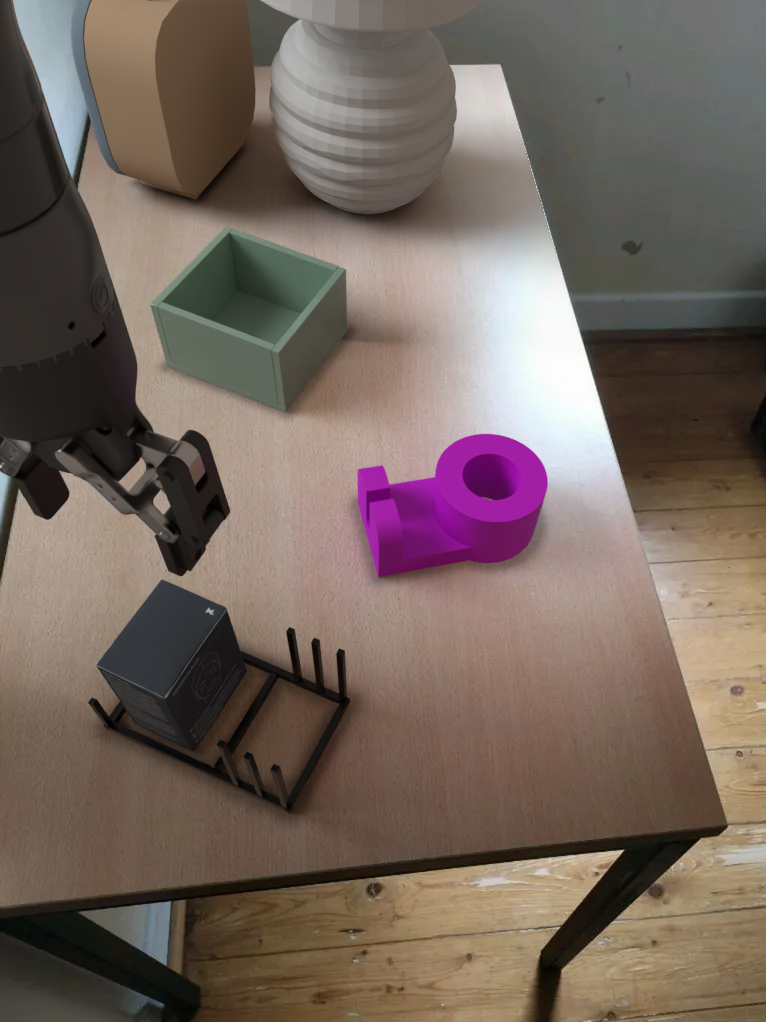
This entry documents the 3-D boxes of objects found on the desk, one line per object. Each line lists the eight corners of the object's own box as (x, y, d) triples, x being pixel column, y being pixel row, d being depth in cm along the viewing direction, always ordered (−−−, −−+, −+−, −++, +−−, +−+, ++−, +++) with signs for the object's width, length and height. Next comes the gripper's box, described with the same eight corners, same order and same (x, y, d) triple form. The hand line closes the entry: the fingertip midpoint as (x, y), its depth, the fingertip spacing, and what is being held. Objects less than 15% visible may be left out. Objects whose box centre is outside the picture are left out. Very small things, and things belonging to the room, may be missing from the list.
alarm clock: (193, 115, 105) (156, -91, 87) (261, 134, 104) (238, -70, 86) (111, 201, 95) (49, -13, 76) (185, 222, 94) (141, 12, 75)
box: (189, 644, 66) (161, 575, 57) (249, 672, 65) (230, 607, 56) (131, 724, 62) (91, 664, 53) (194, 755, 62) (165, 699, 52)
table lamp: (252, 246, 93) (185, -241, 59) (269, 124, 106) (223, -334, 71) (469, 258, 95) (527, -203, 61) (460, 137, 108) (504, -299, 74)
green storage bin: (167, 366, 82) (149, 303, 75) (236, 289, 89) (226, 225, 82) (286, 413, 80) (278, 352, 73) (347, 330, 87) (346, 268, 80)
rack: (105, 728, 62) (68, 679, 54) (177, 626, 67) (153, 567, 59) (290, 814, 60) (279, 774, 52) (350, 702, 65) (348, 651, 57)
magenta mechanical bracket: (516, 471, 79) (527, 426, 74) (549, 552, 74) (563, 511, 69) (356, 497, 76) (355, 452, 70) (380, 584, 71) (381, 543, 66)
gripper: (-216, 289, 30) (-33, 537, 44) (111, 419, 28) (195, 636, 42) (-74, 186, 34) (53, 445, 48) (223, 295, 32) (266, 531, 46)
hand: (119, 534), depth 45 cm, fingers open, 8 cm apart
